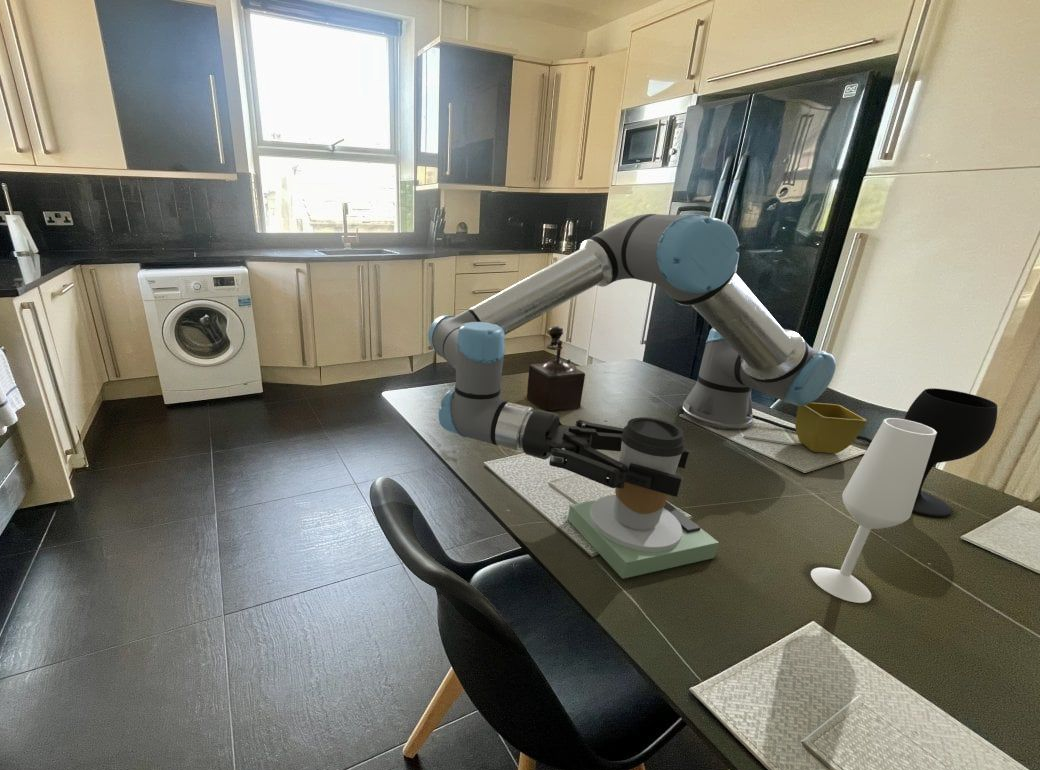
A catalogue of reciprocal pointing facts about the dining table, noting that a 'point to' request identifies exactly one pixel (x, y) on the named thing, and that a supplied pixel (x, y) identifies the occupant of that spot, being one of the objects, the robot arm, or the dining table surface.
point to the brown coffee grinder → (555, 380)
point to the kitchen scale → (641, 538)
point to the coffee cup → (653, 449)
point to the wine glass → (950, 434)
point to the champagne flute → (880, 496)
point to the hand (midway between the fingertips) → (683, 472)
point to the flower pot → (827, 427)
